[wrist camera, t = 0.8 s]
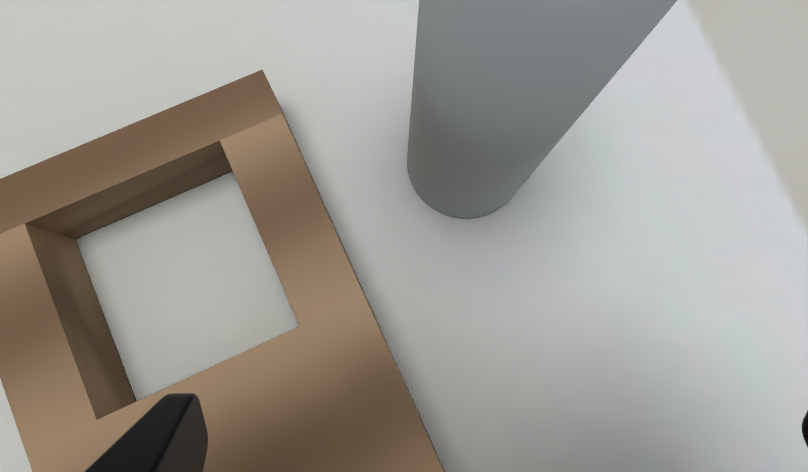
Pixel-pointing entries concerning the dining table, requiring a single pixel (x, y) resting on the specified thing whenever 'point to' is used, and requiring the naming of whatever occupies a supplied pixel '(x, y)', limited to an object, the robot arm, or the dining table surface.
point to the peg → (508, 88)
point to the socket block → (227, 381)
